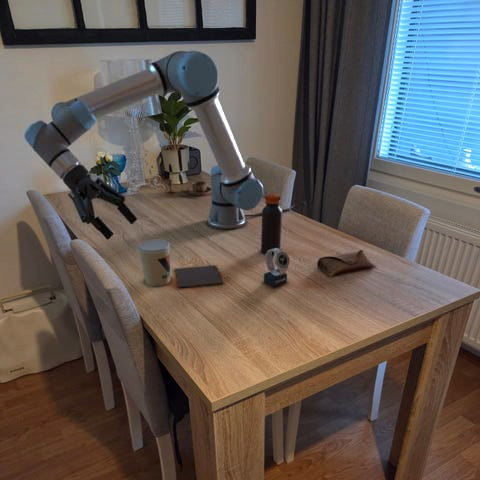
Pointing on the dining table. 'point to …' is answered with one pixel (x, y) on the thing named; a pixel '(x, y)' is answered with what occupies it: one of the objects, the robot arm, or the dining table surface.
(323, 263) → the sunglasses case
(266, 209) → the bottle
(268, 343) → the dining table surface
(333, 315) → the dining table surface
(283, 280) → the watch
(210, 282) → the coaster
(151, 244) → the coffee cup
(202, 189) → the place setting
